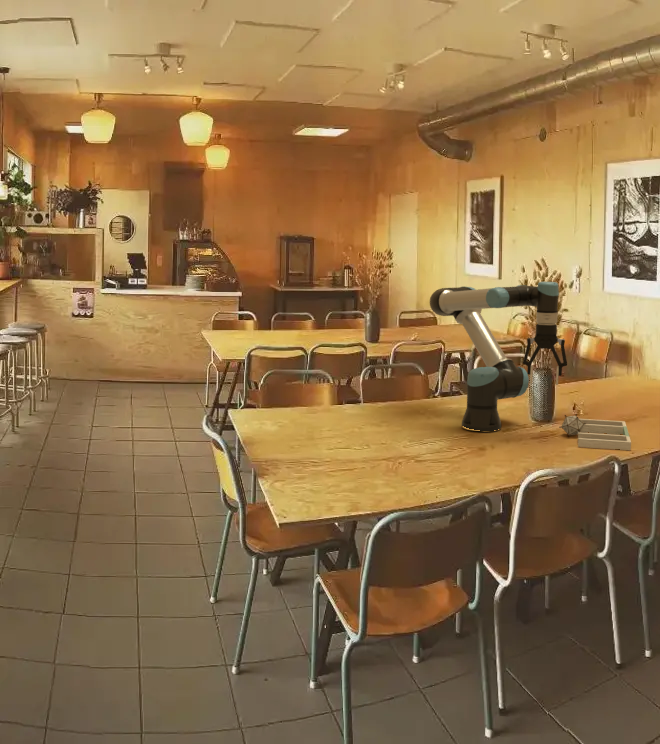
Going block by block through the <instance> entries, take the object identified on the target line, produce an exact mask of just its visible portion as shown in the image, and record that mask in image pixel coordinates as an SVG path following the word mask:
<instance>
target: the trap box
mask: <svg viewBox="0 0 660 744" xmlns="http://www.w3.org/2000/svg"><path fill="white" fill-rule="evenodd" d="M579 419H580V420H581V421H582V422H583V423H586V424H584V425H583V427H582V429H581V431H580V433H579V432H578V435H577V447H578V448H587V449H590V448H591V449H600V450H601V449H602V450H603V449H604V450H615V449H620V451H630V450H631V449H632V441H631V437H630V436H631V435H630V433H629V430H628V426H627V424H626V421H624V420H607V419H605V420H604V419H589V418H579ZM588 432H589V433H588ZM604 433H607V434H604ZM620 434H623V435H620ZM631 451H632V450H631Z"/></svg>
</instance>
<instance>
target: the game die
mask: <svg viewBox="0 0 660 744" xmlns="http://www.w3.org/2000/svg"><path fill="white" fill-rule="evenodd" d="M577 415H578V414H577V413H575V415H570V416H569V415H568V416H567V415H566V414H564V419H563V422H562V424H561V425H560V426H559V427H558V428H560V429H563V431H564V432H565V433H566V434H567V437H568V438H569V437H570V436H578V432H579V433H581V432H580V431H581V429H582V427H583V425H584V424H586V423H583V422H582V421H581V420H580V419H581V418H579V417H578V416H577Z"/></svg>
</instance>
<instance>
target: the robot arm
mask: <svg viewBox="0 0 660 744" xmlns="http://www.w3.org/2000/svg"><path fill="white" fill-rule="evenodd" d="M559 295H560V292H559V284H558V282H556V281H539V282H538V283H537V286H536V285H535V286H534V285H527V284H522V285H521V284H519V285H516V286H496V287H491V288H482V289H481V288H480V289H476V288H474V287H471V286H460V287H442V288H439V289H436V290H434V291H433V293H432V294H431V296H430V298H429V306H430V308H431V309H430V310H432V312H434V314H436V315H438V316H440V317H441V316H442V317H450V316H452V317H453V318H454V320H455V322H456V323H457V324H459V325H462V326H463V329H464V330H465V331H466V333H467V335H468V337H469V338H470V340H471V342H472V344H473V345H474V347H475V349H476V351H477V352H478V354H479V356H480V357H481V359H482V361H483V363H484V364H485V366H484V367H483V366H481V367H480V366H479V367H476V368H473V369H471V370H470V371H469V372H468V373H467V381H466V385H467V388H466V409H465V412H464V415H463V417H462V421H461V427H462V426H464V427H466V428H469V429H474V430H480V431H494V430H498V429H500V428H501V429H502V422H501V418H500V415H499V411H498V400H506V399H514V398H515V399H516V398H518V397H522V396H523V395H524V394H525V393H526V392H527V390H528V388H529V384H533V376H534V375H533V373H534V372H533V371H534V365H532V364H533V362H534V360H535V359H536V357H537V355H538V353H539V351H540V350H544V349H547V350H550V351H551V352H552V354H553V358H554V359H555V361H556V363H557V366H556V373H555V376H556V377H555V385H556V386H558V385H559V377H561V376H562V375H563V367H567V366H568V359H567V355H566V349H565V348H566V347H565V342H566V339H565V338H563V339H562V338H558V337H557V336H558V335H557V334H558V333H557V332H558V325H557V323H558V312H559V311H558V308H559V307H558V306H559ZM526 306H528V307H536V315H535V316H536V318H535V319H536V321H535V322H536V323H537V324H536V325H535V335H534V337H527V339H526V343H527V345H526V349H525V352H524V355H523V356H524V357H523V361H522V364H523V365H525V366H527V368H526V369H527V370H526V369H525V368H524V367H521V366H517V365H516V364H515V362H514V360H513V359H512V358H508V357H507V356H506V354H505V353H504V351H503V349H502V348H501V345H500V344H499V342H498V341H497V340H496V338H495V336H494V335H493V333H492V331H491V329H490V328H489V326H488V324H487V322H486V321H485V319H484V318H483V315H482V310H483V309H484V310H485V309H502V308H503V309H505V308H512V307H516V308H517V307H526ZM534 342H535V345H537V346H536V348H535V350H534V351H533V352H532V353H533V354H532V355H531V356H530V358H529V361H528V356H529V354H530V353H529V352H530V350H531V345H532V344H533V343H534ZM557 343H558V345H560V350H561V356H562V361H561V359H560V357H559V354H558V353H557V350H556V348H555V345H556V344H557ZM529 375H530V376H529ZM501 429H500V430H501Z"/></svg>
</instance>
